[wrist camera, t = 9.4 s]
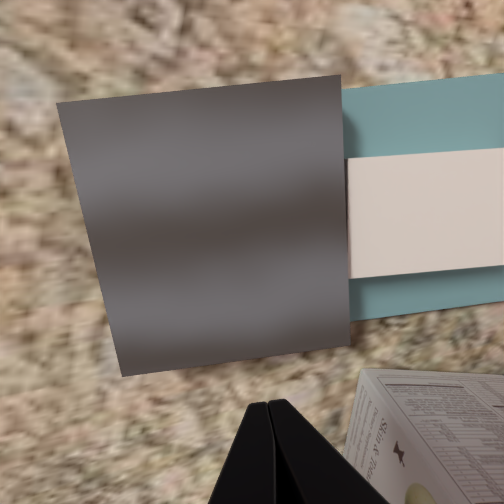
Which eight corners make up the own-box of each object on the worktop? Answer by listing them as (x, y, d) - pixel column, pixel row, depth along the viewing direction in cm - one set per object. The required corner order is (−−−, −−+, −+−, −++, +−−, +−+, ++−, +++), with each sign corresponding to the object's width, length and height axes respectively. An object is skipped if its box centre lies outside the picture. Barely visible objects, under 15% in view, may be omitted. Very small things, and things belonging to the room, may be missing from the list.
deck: (332, 320, 19) (350, 345, 16) (139, 346, 19) (121, 376, 16) (320, 93, 16) (340, 74, 13) (88, 117, 15) (55, 102, 13)
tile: (482, 255, 18) (512, 264, 16) (334, 268, 18) (347, 278, 16) (494, 149, 17) (528, 146, 15) (333, 161, 16) (348, 158, 14)
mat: (515, 295, 20) (522, 298, 19) (332, 320, 19) (335, 323, 19) (538, 71, 16) (547, 68, 16) (320, 93, 16) (323, 91, 15)
